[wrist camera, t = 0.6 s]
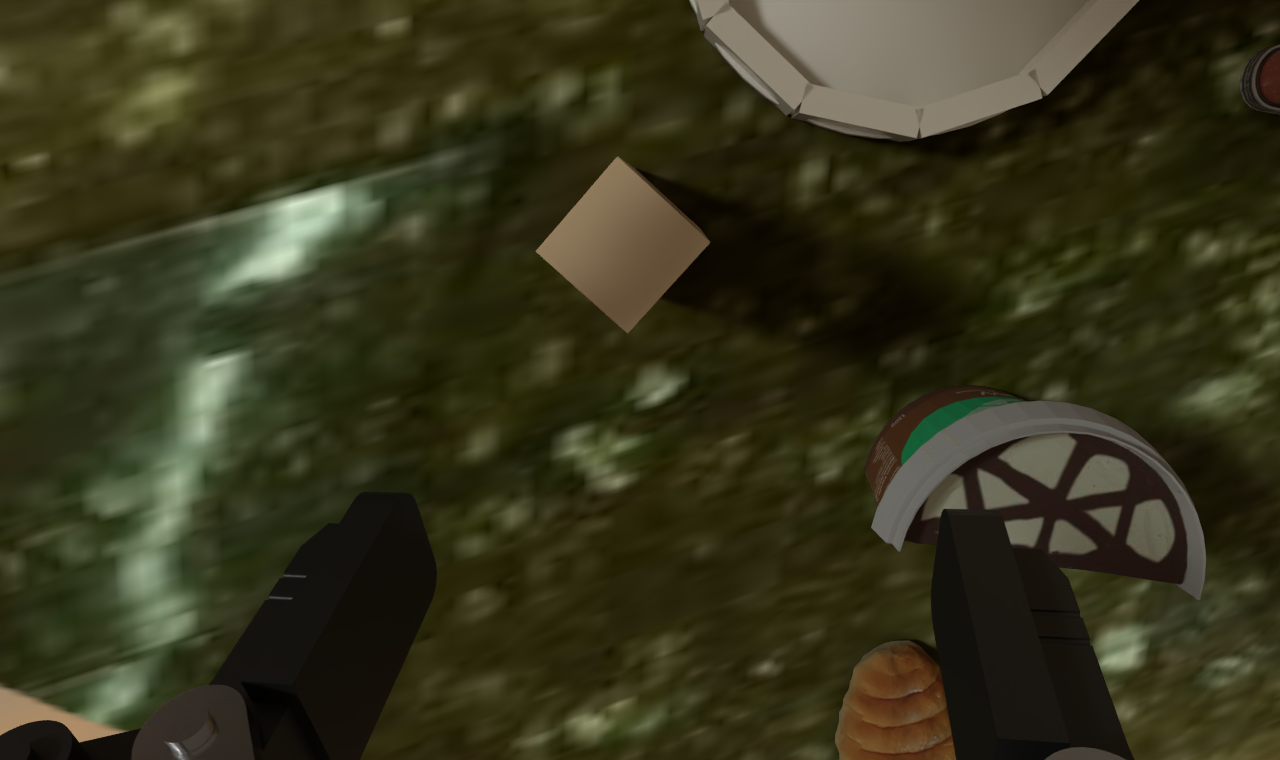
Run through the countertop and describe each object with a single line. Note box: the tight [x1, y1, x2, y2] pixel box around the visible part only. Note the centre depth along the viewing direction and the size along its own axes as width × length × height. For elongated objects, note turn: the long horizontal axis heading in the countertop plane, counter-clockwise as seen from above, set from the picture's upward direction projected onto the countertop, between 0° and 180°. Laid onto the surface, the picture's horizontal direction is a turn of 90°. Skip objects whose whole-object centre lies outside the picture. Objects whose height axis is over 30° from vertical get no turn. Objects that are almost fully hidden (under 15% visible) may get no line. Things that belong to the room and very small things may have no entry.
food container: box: [865, 385, 1206, 600], centre depth 35 cm, size 12×6×10 cm, turn 81°
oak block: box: [536, 157, 710, 333], centre depth 33 cm, size 4×4×12 cm
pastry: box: [835, 640, 956, 760], centre depth 42 cm, size 9×7×4 cm
